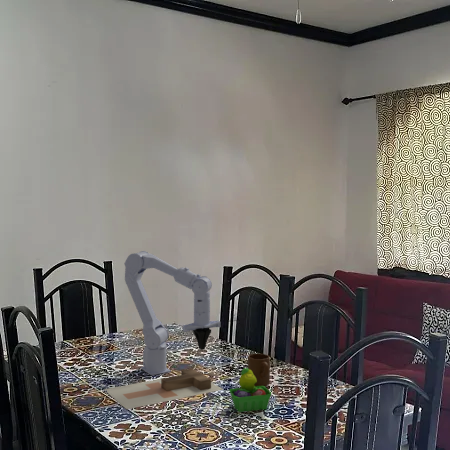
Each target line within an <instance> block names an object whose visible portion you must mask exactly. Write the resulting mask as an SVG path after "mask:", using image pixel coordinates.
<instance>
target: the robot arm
mask: <svg viewBox="0 0 450 450" xmlns="http://www.w3.org/2000/svg"><path fill="white" fill-rule="evenodd" d="M124 268H125V271H124V282H125V285H126V287H127V288H128V291H129V293H130V296H131V298H132V300H133V303H134V305H135V307H136V310H137V313H138V315H139V317H140V321H141V323H142V325H143V327H142V334H143V343H144V345H145V347H144V349H143V352H142V366H141V367H140V369H141V370H142V371H144V372H145V373H147V374H148V375H150V376H155V375H159V374H160V375H161V374H165V373H171V372H172V371H171V369H169V368H168V367H167V343H166V342H167V341H168V339H169V335H170V334H169V330H168V329H167V328H166V327H165V326H164V324H163V323H162V321H161V320H160V319H158V318H157V317H158V316H156V312H155V310H154V309H153V306H152V303H151V301H150V299H149V296H148V294H147V291H146V289H145V287H144V285H143V282H142V280H141V279H142V277H143V275H144V273H145V271H146V270H148V269H155V270H158V271H159V272H162V273H164V274H167V275H169V276H171V277H173V279H174V282H175V283H178V284H180V285H181V286H183V287H185V288H188V289H190V290H192V293H193V322H192V323H187V324H183V325H182V332H184V333H187V332H190V331H192V332H193V335H194V336H195V339H196V342H197V346H198V349H199V350H201V351H203V350H206V345H207V342H208V339H209V337H210V335H211V333H212V329H211V328H221V321H219V320H211V292H210V290H211V289H212V285H213V284H212V280H211V279H210V278H208V276H206V275H202V276H201V274H200V273H195V272H193V271H191V270H190V268H189V267H186V266H185V267H180V268H177V267H176V266H174V265H172V264H170V263H169V262H167V261H165V260H164V259H161V258H159V257H158V256H157V255H155V254H153V253H150V252H148V251H146V250H141V251H139V252H135V253H134V252H133V253H130V254H129V255H128V256H127V257H126V260H125V262H124Z"/></svg>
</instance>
